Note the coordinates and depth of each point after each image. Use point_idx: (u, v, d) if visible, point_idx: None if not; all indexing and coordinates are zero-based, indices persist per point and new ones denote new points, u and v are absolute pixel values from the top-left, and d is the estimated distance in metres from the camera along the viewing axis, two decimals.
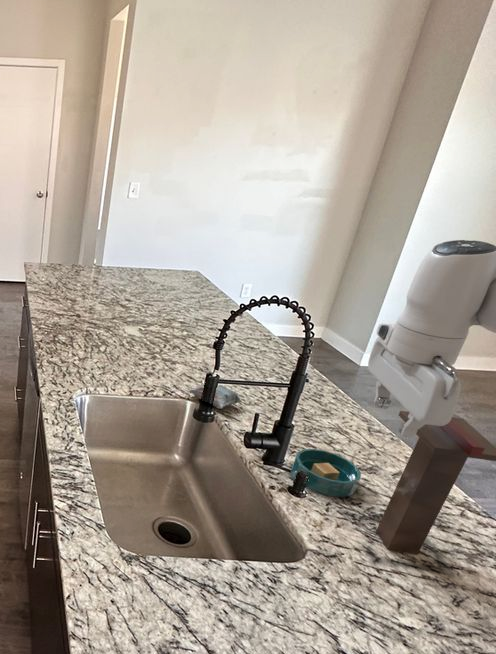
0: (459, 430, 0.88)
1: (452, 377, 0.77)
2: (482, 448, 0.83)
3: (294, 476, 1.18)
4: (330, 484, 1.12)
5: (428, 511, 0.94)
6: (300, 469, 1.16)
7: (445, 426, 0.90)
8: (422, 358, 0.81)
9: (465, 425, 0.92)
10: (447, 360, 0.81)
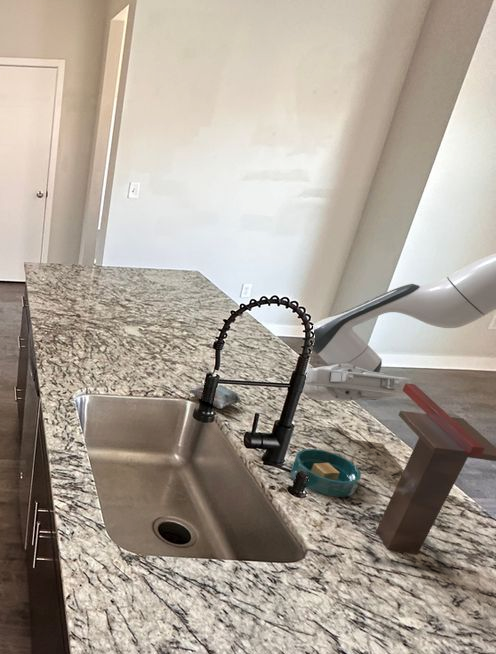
0: (459, 430, 0.88)
1: None
2: (482, 448, 0.83)
3: (294, 476, 1.18)
4: (330, 484, 1.12)
5: (428, 511, 0.94)
6: (300, 469, 1.16)
7: (445, 426, 0.90)
8: (324, 387, 1.29)
9: (465, 425, 0.92)
10: None
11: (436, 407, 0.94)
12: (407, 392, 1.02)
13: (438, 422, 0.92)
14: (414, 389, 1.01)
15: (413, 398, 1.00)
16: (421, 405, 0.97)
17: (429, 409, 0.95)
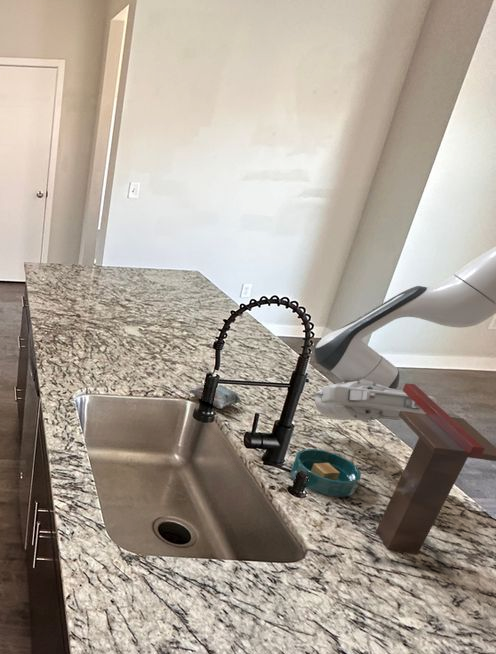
0: (459, 430, 0.88)
1: (317, 395, 1.20)
2: (482, 448, 0.83)
3: (294, 476, 1.18)
4: (330, 484, 1.12)
5: (428, 511, 0.94)
6: (300, 469, 1.16)
7: (445, 426, 0.90)
8: (342, 405, 1.20)
9: (465, 425, 0.92)
10: None
11: (436, 407, 0.94)
12: (407, 392, 1.02)
13: (438, 422, 0.92)
14: (414, 389, 1.01)
15: (413, 398, 1.00)
16: (421, 405, 0.97)
17: (429, 409, 0.95)
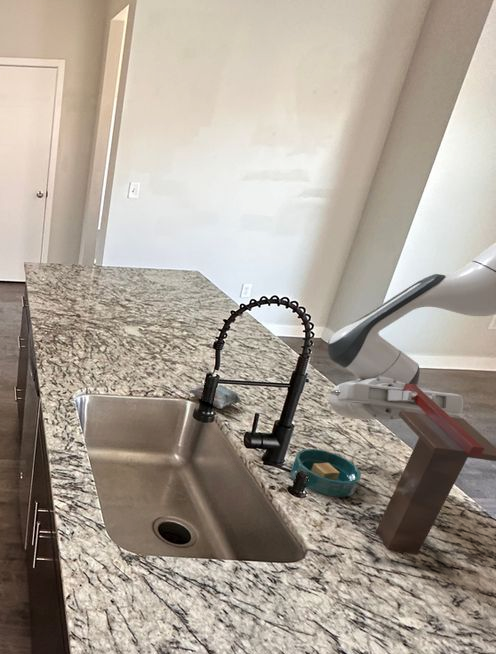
0: (458, 430, 0.88)
1: None
2: (482, 448, 0.83)
3: (294, 476, 1.18)
4: (330, 484, 1.12)
5: (428, 511, 0.94)
6: (300, 469, 1.16)
7: (445, 426, 0.90)
8: (360, 404, 1.12)
9: (465, 425, 0.92)
10: None
11: (436, 407, 0.94)
12: None
13: (438, 422, 0.92)
14: (414, 389, 1.01)
15: None
16: (421, 405, 0.97)
17: (429, 409, 0.95)
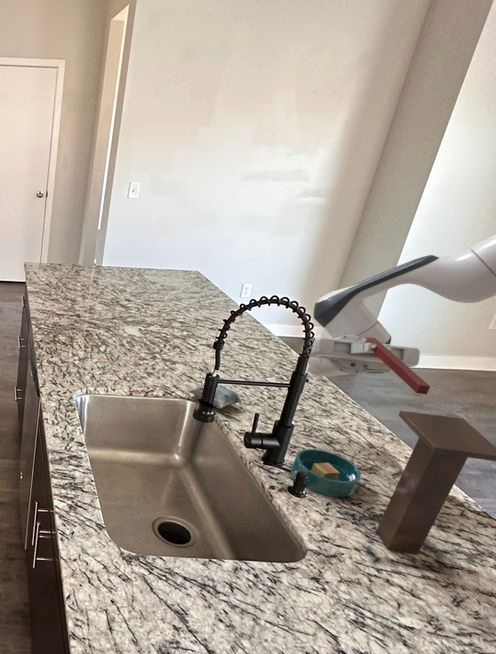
0: (409, 373, 0.97)
1: None
2: (428, 386, 0.93)
3: (294, 476, 1.18)
4: (330, 484, 1.12)
5: (428, 511, 0.94)
6: (300, 469, 1.16)
7: (398, 370, 1.00)
8: (328, 359, 1.22)
9: (465, 425, 0.92)
10: None
11: (392, 355, 1.04)
12: None
13: (392, 368, 1.02)
14: (374, 342, 1.10)
15: None
16: (379, 355, 1.07)
17: (385, 357, 1.04)
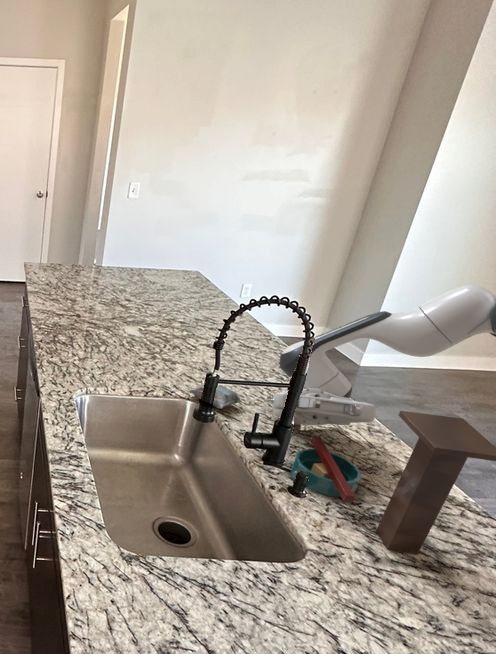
0: (340, 480, 1.09)
1: (269, 401, 1.29)
2: (353, 496, 1.05)
3: (294, 476, 1.18)
4: (330, 484, 1.12)
5: (428, 511, 0.94)
6: (300, 469, 1.16)
7: (332, 475, 1.12)
8: None
9: (465, 425, 0.92)
10: None
11: (330, 458, 1.16)
12: (313, 443, 1.23)
13: (328, 471, 1.13)
14: (317, 441, 1.22)
15: (316, 449, 1.21)
16: (320, 455, 1.19)
17: (324, 460, 1.16)
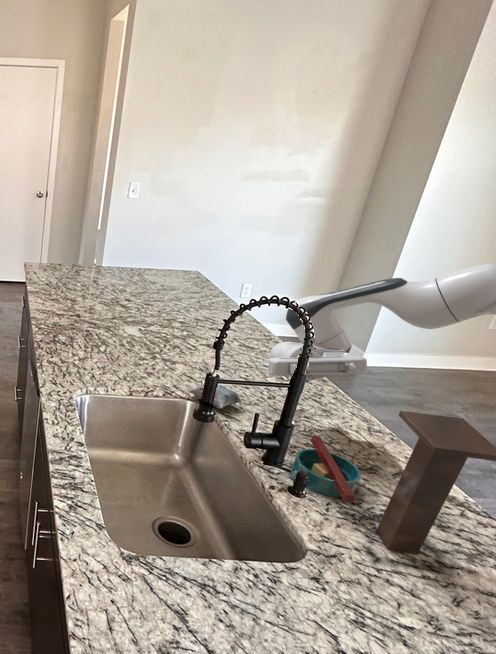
0: (340, 480, 1.09)
1: None
2: (353, 496, 1.05)
3: (294, 476, 1.18)
4: (330, 484, 1.12)
5: (428, 511, 0.94)
6: (300, 469, 1.16)
7: (332, 475, 1.12)
8: None
9: (465, 425, 0.92)
10: None
11: (330, 458, 1.16)
12: (313, 443, 1.23)
13: (328, 471, 1.13)
14: (317, 441, 1.22)
15: (316, 449, 1.21)
16: (320, 455, 1.19)
17: (324, 460, 1.16)
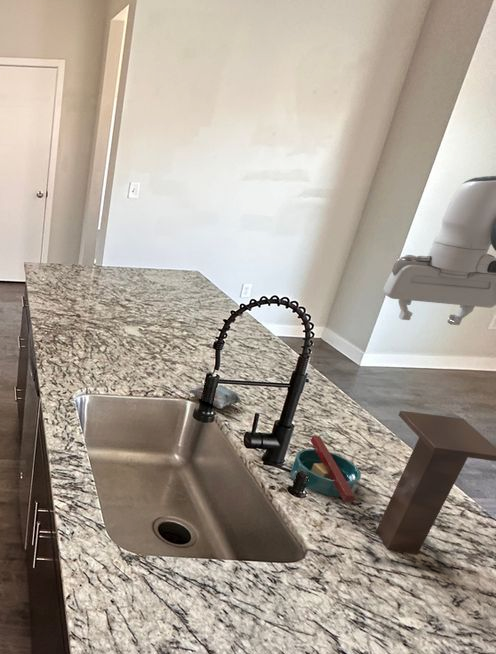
0: (340, 480, 1.09)
1: None
2: (353, 496, 1.05)
3: (294, 476, 1.18)
4: (330, 484, 1.12)
5: (428, 511, 0.94)
6: (300, 469, 1.16)
7: (332, 475, 1.12)
8: None
9: (465, 425, 0.92)
10: (434, 261, 1.09)
11: (330, 458, 1.16)
12: (313, 443, 1.23)
13: (328, 471, 1.13)
14: (317, 441, 1.22)
15: (316, 449, 1.21)
16: (320, 455, 1.19)
17: (324, 460, 1.16)
